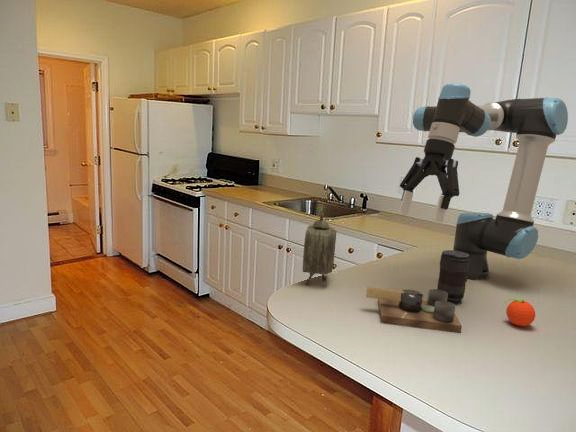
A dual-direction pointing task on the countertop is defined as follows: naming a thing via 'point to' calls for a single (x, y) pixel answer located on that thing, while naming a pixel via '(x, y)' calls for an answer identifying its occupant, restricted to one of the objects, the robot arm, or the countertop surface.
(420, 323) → the base
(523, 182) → the robot arm
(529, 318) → the tomato
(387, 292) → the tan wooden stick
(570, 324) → the countertop surface
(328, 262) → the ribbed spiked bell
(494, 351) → the countertop surface
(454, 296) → the camera lens
